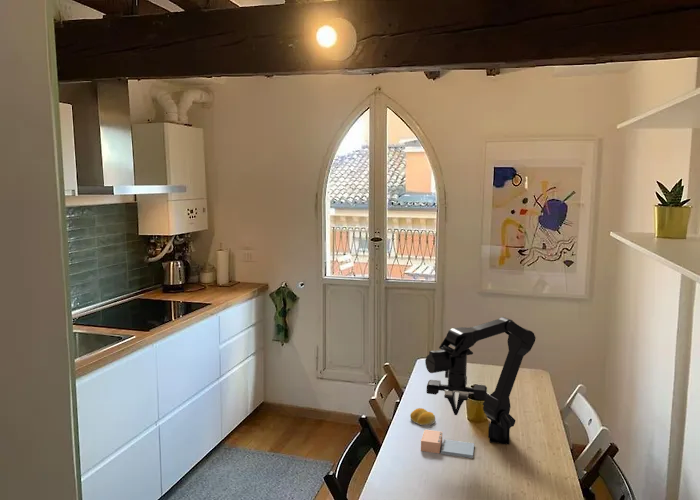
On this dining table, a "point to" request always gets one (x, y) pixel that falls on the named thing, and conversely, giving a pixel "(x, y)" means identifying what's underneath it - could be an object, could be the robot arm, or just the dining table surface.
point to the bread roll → (422, 417)
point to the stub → (431, 441)
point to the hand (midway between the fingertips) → (455, 414)
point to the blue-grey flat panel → (457, 448)
